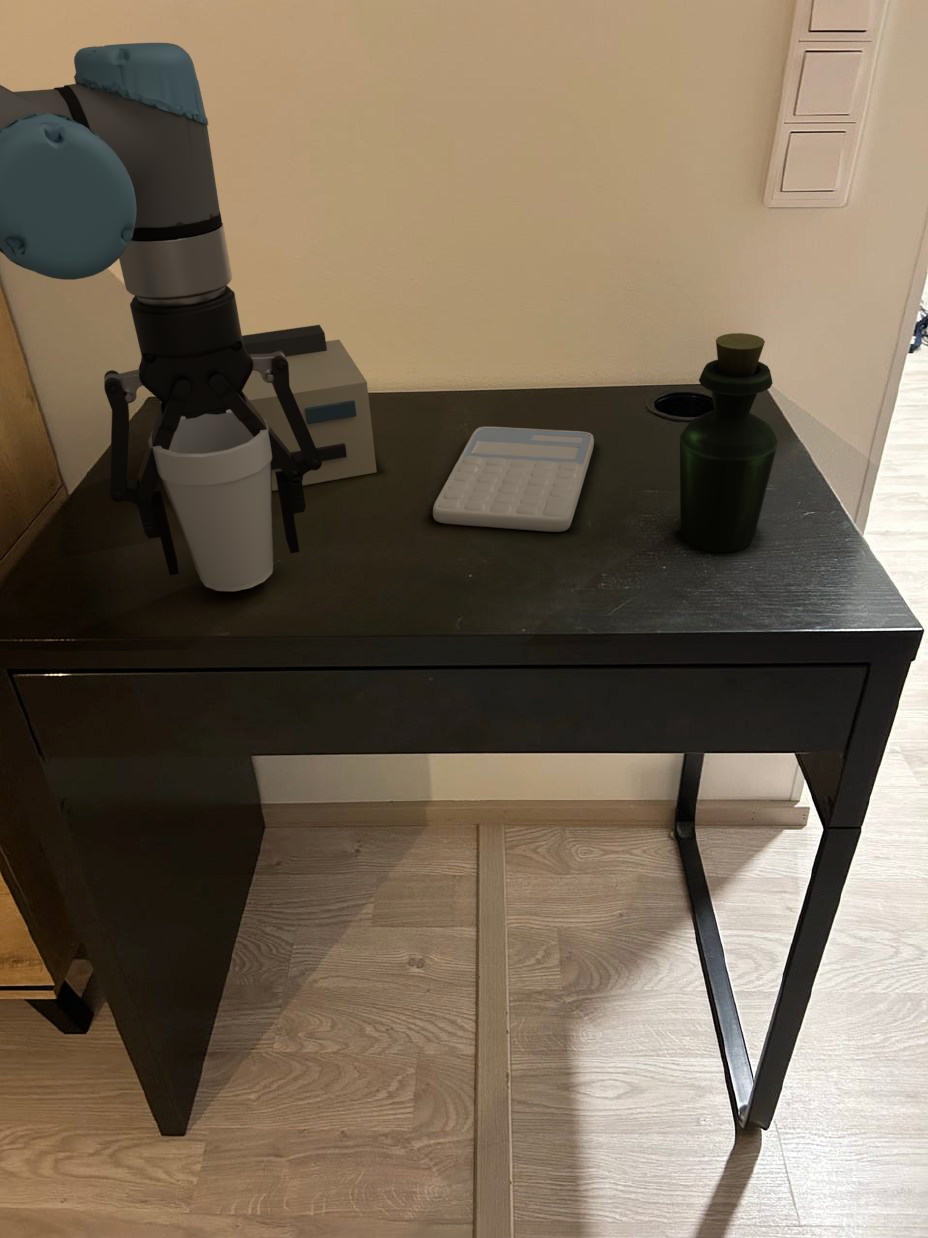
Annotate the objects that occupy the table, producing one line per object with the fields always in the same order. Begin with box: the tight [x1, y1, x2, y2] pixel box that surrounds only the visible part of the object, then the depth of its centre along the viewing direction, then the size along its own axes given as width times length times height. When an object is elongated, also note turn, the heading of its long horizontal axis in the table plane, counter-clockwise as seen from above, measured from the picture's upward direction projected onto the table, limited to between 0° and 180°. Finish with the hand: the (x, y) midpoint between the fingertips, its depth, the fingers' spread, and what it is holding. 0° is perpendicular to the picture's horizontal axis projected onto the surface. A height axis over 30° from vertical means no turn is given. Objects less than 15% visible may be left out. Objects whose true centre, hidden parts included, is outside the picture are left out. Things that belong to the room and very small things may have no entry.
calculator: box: [432, 426, 595, 533], centre depth 97 cm, size 13×20×2 cm, turn 167°
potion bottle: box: [679, 332, 779, 554], centre depth 82 cm, size 8×8×18 cm
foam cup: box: [147, 410, 274, 592], centre depth 79 cm, size 10×9×13 cm
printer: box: [159, 324, 377, 492], centre depth 101 cm, size 20×14×12 cm
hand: (233, 555), depth 82 cm, fingers closed on foam cup, 9 cm apart
